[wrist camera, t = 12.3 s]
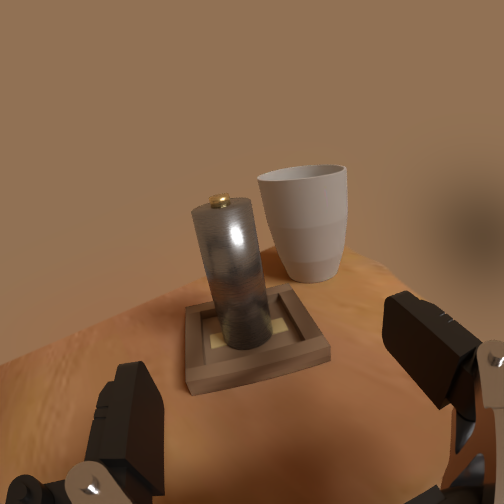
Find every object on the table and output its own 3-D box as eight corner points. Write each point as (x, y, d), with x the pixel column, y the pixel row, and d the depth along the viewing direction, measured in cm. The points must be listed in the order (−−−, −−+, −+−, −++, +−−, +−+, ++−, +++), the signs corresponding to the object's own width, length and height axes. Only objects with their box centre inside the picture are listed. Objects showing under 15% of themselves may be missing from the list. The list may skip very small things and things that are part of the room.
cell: (226, 354, 19) (188, 208, 15) (221, 325, 22) (189, 197, 19) (278, 341, 19) (254, 194, 16) (266, 314, 23) (243, 185, 19)
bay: (191, 395, 17) (185, 382, 16) (189, 319, 25) (185, 307, 24) (330, 360, 18) (330, 345, 17) (290, 295, 26) (288, 283, 25)
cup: (356, 254, 31) (350, 162, 27) (347, 293, 24) (340, 176, 21) (286, 253, 35) (274, 168, 31) (261, 289, 28) (242, 183, 24)
